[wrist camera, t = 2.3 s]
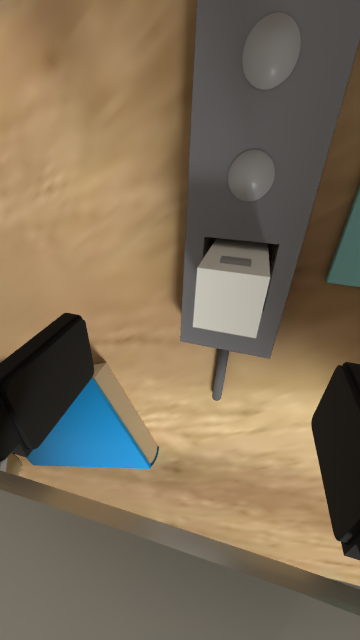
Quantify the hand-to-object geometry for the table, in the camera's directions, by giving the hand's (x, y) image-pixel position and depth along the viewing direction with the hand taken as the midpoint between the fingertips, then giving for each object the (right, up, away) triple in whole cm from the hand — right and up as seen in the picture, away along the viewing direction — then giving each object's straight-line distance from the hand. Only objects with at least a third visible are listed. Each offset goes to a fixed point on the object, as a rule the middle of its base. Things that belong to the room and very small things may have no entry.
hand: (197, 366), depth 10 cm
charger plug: (+4, +7, +12) cm, 14 cm away
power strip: (+4, +7, +12) cm, 14 cm away
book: (-18, -13, +31) cm, 38 cm away
